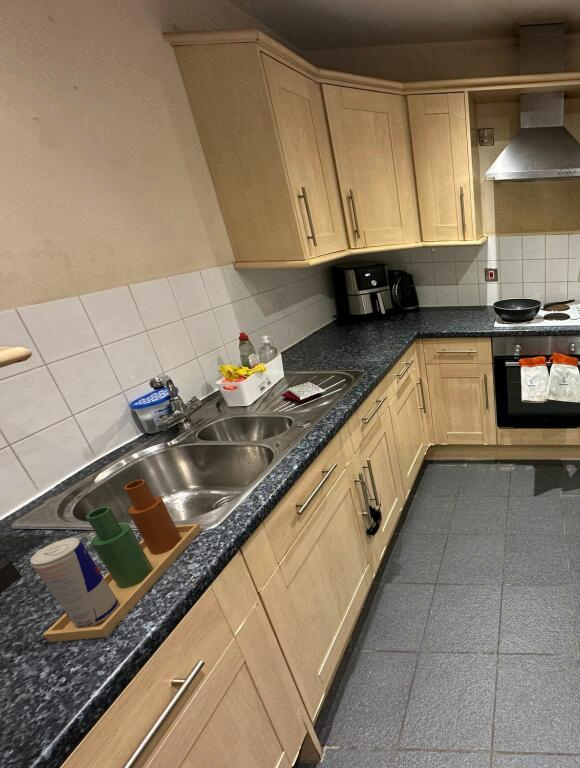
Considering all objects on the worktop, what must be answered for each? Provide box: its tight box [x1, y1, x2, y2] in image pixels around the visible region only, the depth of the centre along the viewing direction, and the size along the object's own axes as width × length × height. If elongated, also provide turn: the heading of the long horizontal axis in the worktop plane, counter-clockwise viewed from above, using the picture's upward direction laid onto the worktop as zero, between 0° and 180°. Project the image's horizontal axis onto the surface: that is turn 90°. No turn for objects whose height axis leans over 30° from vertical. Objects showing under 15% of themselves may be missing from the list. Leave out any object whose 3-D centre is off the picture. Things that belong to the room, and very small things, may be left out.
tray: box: [43, 523, 203, 643], centre depth 77 cm, size 9×24×2 cm, turn 3°
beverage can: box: [29, 537, 119, 628], centre depth 67 cm, size 6×6×15 cm
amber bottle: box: [124, 479, 182, 555], centre depth 81 cm, size 5×5×16 cm
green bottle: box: [85, 506, 153, 588], centre depth 74 cm, size 5×5×16 cm
